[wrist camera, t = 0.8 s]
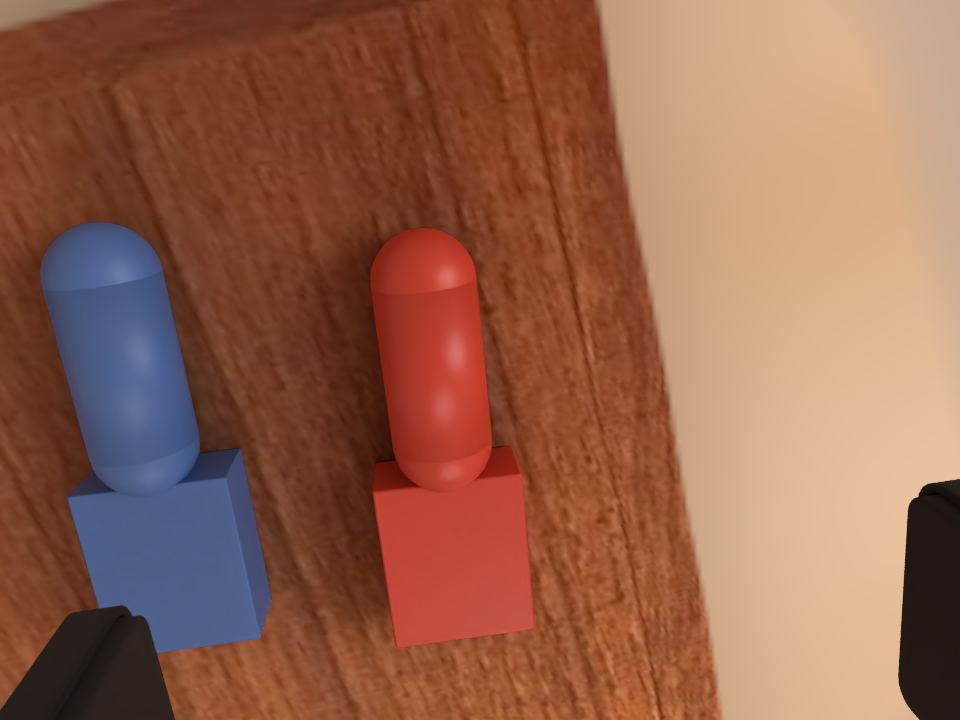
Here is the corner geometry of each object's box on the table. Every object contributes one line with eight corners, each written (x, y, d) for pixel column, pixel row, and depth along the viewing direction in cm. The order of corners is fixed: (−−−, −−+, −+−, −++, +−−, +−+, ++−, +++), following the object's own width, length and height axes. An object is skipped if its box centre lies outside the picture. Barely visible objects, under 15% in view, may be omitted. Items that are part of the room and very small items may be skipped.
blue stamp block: (29, 224, 20) (-28, 239, 17) (191, 207, 20) (159, 220, 18) (136, 616, 24) (102, 679, 21) (272, 598, 24) (255, 657, 21)
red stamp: (340, 230, 21) (330, 245, 18) (491, 213, 21) (504, 226, 18) (396, 608, 24) (395, 667, 22) (525, 590, 25) (539, 647, 22)
